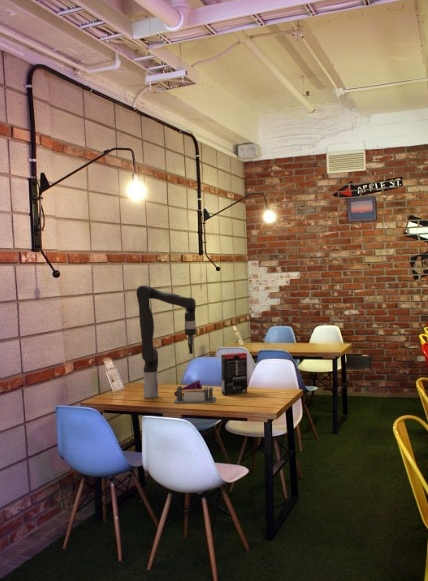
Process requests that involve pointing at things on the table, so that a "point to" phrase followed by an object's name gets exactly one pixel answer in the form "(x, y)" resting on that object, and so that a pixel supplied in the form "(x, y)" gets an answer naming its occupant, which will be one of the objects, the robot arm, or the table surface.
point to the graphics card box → (234, 373)
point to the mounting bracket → (192, 386)
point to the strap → (193, 390)
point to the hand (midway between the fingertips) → (191, 353)
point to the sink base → (195, 396)
